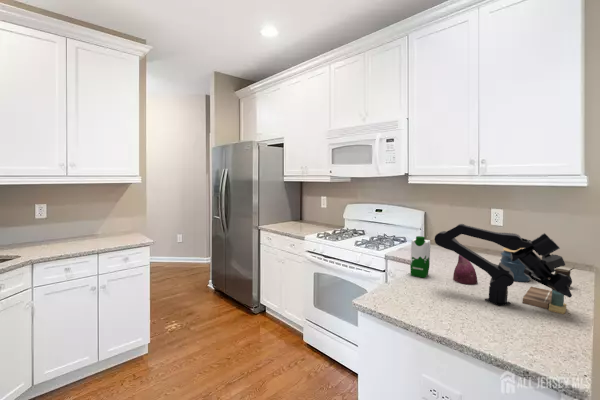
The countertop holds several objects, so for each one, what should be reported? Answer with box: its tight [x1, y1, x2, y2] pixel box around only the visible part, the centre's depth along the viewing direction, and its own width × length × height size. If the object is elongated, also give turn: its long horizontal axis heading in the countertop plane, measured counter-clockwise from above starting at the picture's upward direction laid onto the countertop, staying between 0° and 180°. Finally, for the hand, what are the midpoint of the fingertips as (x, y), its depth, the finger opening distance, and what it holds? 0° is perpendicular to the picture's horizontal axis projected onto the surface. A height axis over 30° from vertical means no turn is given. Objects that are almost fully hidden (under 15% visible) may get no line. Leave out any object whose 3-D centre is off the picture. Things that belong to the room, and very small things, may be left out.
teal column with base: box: [548, 289, 567, 315], centre depth 119 cm, size 7×5×11 cm, turn 136°
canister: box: [499, 247, 531, 283], centre depth 157 cm, size 13×13×18 cm
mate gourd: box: [553, 267, 575, 288], centre depth 146 cm, size 7×8×10 cm
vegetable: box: [452, 254, 478, 286], centre depth 151 cm, size 10×10×15 cm
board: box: [522, 286, 552, 310], centre depth 129 cm, size 20×8×2 cm, turn 136°
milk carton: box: [409, 235, 431, 279], centre depth 158 cm, size 9×9×20 cm
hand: (561, 292), depth 118 cm, fingers open, 9 cm apart
